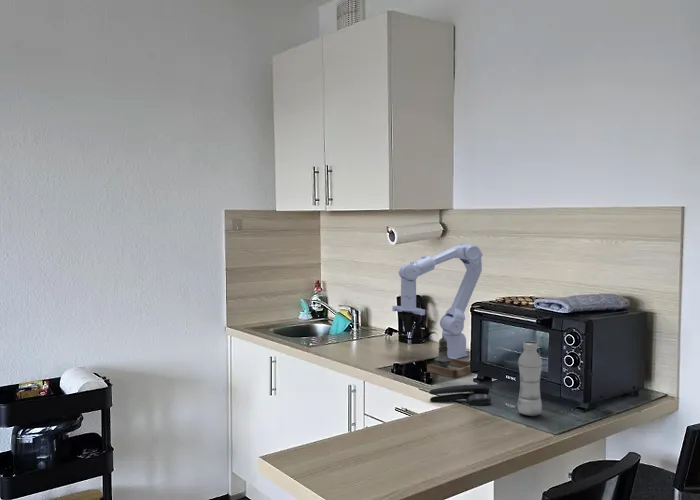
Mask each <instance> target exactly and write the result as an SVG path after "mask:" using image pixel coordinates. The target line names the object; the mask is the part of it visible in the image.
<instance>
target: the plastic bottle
mask: <svg viewBox="0 0 700 500" xmlns="http://www.w3.org/2000/svg"><path fill="white" fill-rule="evenodd" d="M522 348H523V352H521V354H520V355H519V358H518V361H517V362H518V371H519V372H518V373H519V394H518V398H517V409H518V412H519V413H520V414H521V415H524V416H529V417H536V416H538V415H540V414H541V412H542V409H543V404H542V402H543V401H542V398H541V375H542V369H543V360H542V357H541V355H540V354H539V353H538V351H537V350H538V349H539V347H538V342H537V341H535V340H525V341H523V347H522Z"/></svg>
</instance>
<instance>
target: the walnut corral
mask: <svg viewBox="0 0 700 500" xmlns="http://www.w3.org/2000/svg"><path fill="white" fill-rule="evenodd" d="M450 359H451V361H450V365H449V366H450V367H455V368H456V369H453V368H450V367H449V368H450V369H449V368H444V367H440V366H438V365H435V364H429V363H428V364H427V365H426V366H427V367H426V372H427V373H430V374H435V375H439V376H440V375H441V376H444V377H447V378H453V379H457V378H460V377H463V376H466V375H470V374H472V373H471V372H470V362H471V361H468V360H463V359H462V360H461V359H459V358H457V359H453V358H450Z"/></svg>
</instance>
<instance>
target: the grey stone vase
mask: <svg viewBox="0 0 700 500" xmlns="http://www.w3.org/2000/svg"><path fill="white" fill-rule="evenodd" d="M437 350H438V354H437V355H438V356H437V357H435V358H434V361H435V364H436V366H440V367H444V368H449V369H451V368H450V367H449V366H450V361H451V359H450V358H448V355H447V350H448V348H447V340H446V339H445V338H444V336H442V335H441V338H440V339H438V347H437Z"/></svg>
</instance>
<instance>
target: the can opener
mask: <svg viewBox="0 0 700 500" xmlns="http://www.w3.org/2000/svg"><path fill="white" fill-rule="evenodd" d="M489 393H490V387H489V386H488V385H487V384H481V383H480V384H471V383H465V384H462V385H461V384H460V385H459V384H457V385H449V386H442V387H438V388H432V389H430V390H429V394H430V395H436V396H431V397H430V399H429V401H431V402H433V403H445V402H453V401H459V400H465V401H466V402H467V404H468V405H471V406H485V405H488V404H489V403H491V401H492V398H491V396H490V395H489Z"/></svg>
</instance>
